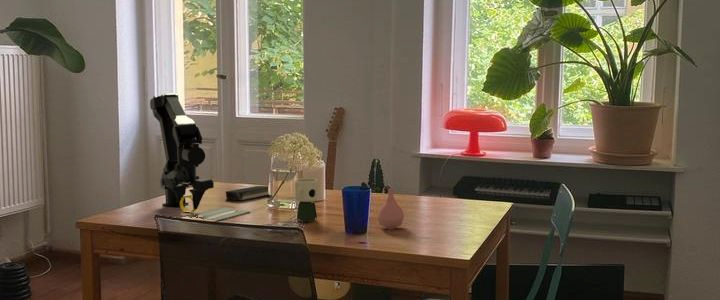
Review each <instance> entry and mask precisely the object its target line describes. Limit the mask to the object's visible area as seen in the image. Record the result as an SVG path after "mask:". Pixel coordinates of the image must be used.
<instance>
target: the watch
mask: <svg viewBox="0 0 720 300" xmlns="http://www.w3.org/2000/svg"><path fill="white" fill-rule="evenodd" d="M184 198H185V199H188V198H189V199H190V200H191V202H193V198H192V193H189V194H186V193H185V195H183V197H182V198H181V200H180V206H179V208H180V210H181V211H182V212H183V213H184V212H190V213H189V214H192V212H193V213H195V211H196V210H197V209H195V210H194V207H193V208H192V210H189V211H188V210H187V209H185V207H184V206H185V205H183V200H184Z"/></svg>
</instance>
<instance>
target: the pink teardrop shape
mask: <svg viewBox="0 0 720 300" xmlns="http://www.w3.org/2000/svg"><path fill="white" fill-rule="evenodd" d="M404 218H405V217H404V210H403V209H402V207H401V206H400V205H399V204H398V203H397V200H396V199H395V197H394V188H393V187H392V188H391V187H390V188H387V198H386V200H385V202H384V204H382V206H381V207H380V208H379V209H378V214H377V220H378V223H379V225H380V226H382V227H384V228H386V229H387V230H395V228H397V227H400V226H402V224H403V221H404Z"/></svg>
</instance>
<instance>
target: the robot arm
mask: <svg viewBox="0 0 720 300" xmlns="http://www.w3.org/2000/svg"><path fill="white" fill-rule="evenodd" d="M179 100H180V99H179V94H177V93H164V94H161V95H154V96H153V97H152V98H151V99H150V101H149V108H150V109H151V111H152V115H153V117H154V118H155V119H156V120H157V121H158V122H159V127H160V132H161V133H160V134H161V137H162V138H161V139H162V145H163V149H164V155H165V164H164V166H163V169H162V174H161V178H160V181H159V182H160V188H161V189H163V190H164V193H165V202H164V203H162V206H165V207H171V208H177V207H180V200H181V198H182V197H183V195H186V191H187V188H189V186H192V189H188V191H189V192H190V194H191V195H192V198H193V201H192V206H193V207H194V210H195V209H196V210H198V207H199V205H200V202H201V200H202V199H203V197H204V195H205V192H207V191H208V190H210V189H214V187H215V185H214V183H215V182H214V181H213V179H210V178H201V179H200V176H199V175H197V168H199V165H201V164H202V163H203V162H204V161H205V159H206V153H205V151H204V149H203V148H202V147H200V145H202V144H203V137H202V134H201V130H200V128H199V127H198V125H197V123H196V122H195V120H193V119H192V118H191V117H188V116H187V114H186V112H185V110H184V108H183V106H182V104H181V103H180V101H179ZM186 201H187V200H186V198H184V200H183V206H187V205H189V203H190V202H186ZM196 210H195V211H196Z"/></svg>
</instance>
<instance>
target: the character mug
mask: <svg viewBox="0 0 720 300" xmlns="http://www.w3.org/2000/svg"><path fill="white" fill-rule="evenodd" d="M318 188H319V180H318V178H312V177H302V178H296V179H295V180H294V198H295V201H297V202H299V203H298V206H297V213H296V220H298V221H302V222H304V221H306V222H313V221H314V222H315V221H317V220H318V217H317V208H316V203H315V201H318V199H319V194H318Z"/></svg>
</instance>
